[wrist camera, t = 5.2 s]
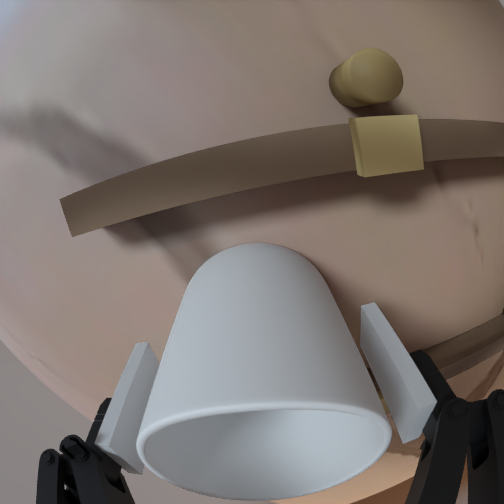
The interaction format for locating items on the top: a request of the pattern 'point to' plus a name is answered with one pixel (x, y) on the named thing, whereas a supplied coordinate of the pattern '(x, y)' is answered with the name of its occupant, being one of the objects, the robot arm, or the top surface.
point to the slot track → (310, 173)
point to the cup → (261, 384)
